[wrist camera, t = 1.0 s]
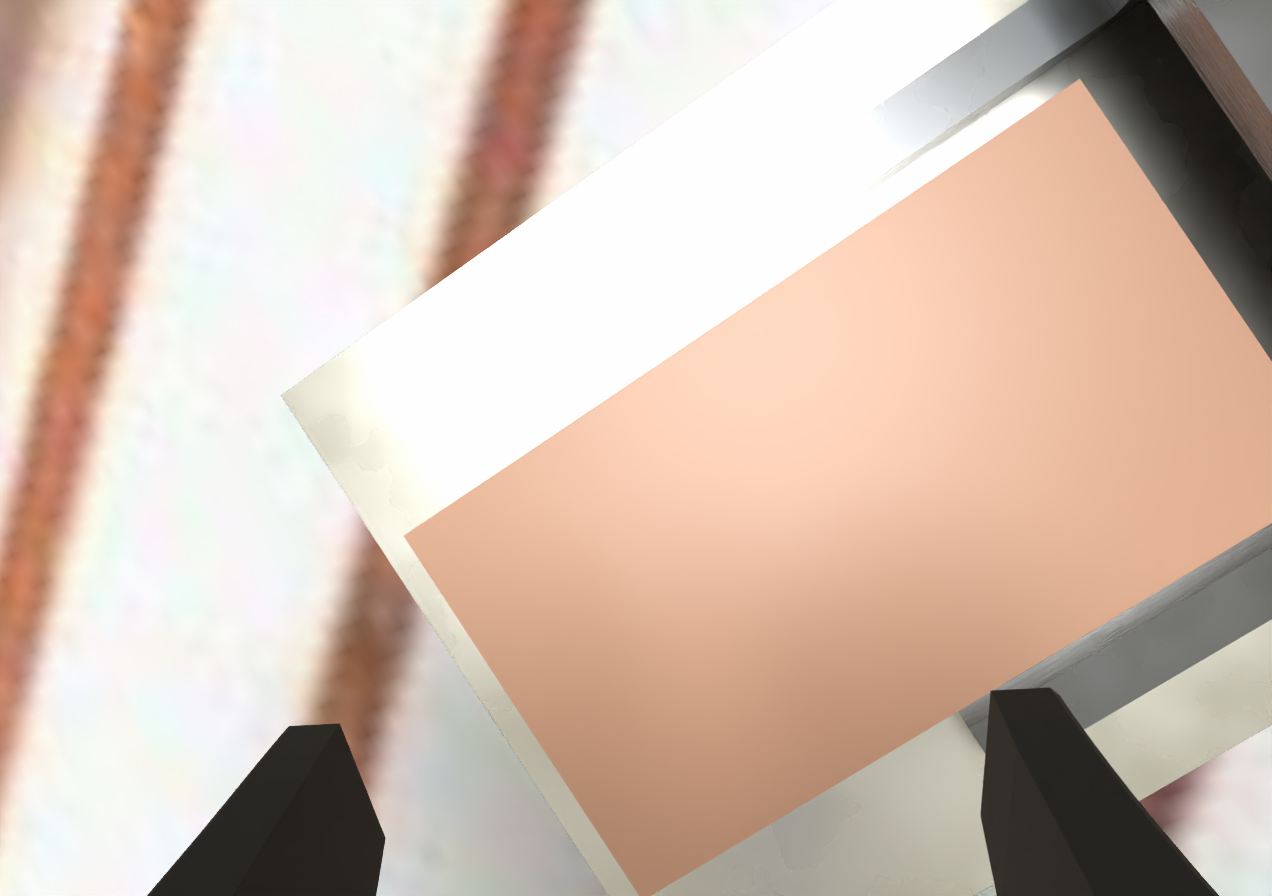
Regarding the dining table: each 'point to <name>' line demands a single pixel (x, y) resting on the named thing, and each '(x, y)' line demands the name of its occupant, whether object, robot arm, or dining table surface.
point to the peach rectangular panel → (867, 495)
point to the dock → (763, 256)
